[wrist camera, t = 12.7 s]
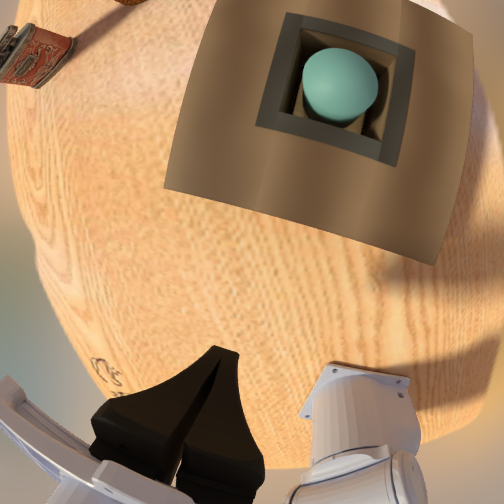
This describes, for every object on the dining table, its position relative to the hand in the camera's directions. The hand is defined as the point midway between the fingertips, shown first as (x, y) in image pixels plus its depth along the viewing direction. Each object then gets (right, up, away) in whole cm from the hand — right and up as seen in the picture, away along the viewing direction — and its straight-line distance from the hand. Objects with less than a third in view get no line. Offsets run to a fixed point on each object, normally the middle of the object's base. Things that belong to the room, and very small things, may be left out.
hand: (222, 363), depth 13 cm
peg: (+7, +16, +3) cm, 17 cm away
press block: (+7, +16, +4) cm, 18 cm away
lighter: (-21, +27, +6) cm, 35 cm away
